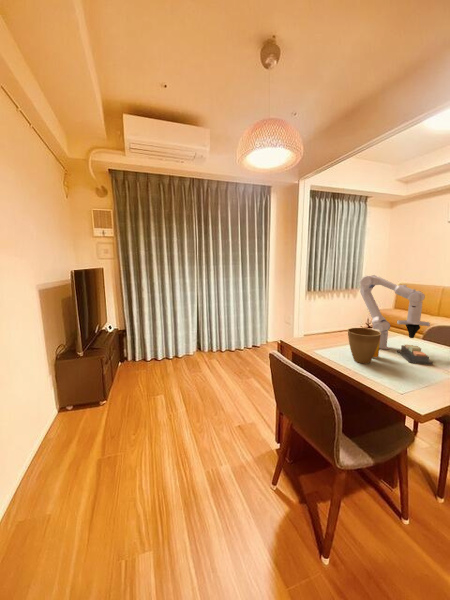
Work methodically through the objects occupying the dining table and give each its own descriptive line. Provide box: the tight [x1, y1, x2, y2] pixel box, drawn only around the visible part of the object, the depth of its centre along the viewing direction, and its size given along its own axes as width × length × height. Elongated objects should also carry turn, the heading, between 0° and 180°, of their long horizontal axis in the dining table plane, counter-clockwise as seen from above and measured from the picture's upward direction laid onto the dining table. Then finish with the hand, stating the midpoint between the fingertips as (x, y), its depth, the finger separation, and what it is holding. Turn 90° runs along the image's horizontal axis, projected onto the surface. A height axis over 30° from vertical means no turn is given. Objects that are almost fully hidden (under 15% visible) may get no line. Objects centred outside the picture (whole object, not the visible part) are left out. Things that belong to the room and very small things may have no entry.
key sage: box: [408, 344, 422, 352], centre depth 130 cm, size 4×4×3 cm
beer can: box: [371, 328, 381, 359], centre depth 132 cm, size 6×6×15 cm
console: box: [396, 344, 434, 366], centre depth 131 cm, size 10×16×4 cm, turn 164°
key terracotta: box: [413, 351, 427, 357], centre depth 125 cm, size 4×4×3 cm
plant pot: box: [347, 327, 381, 365], centre depth 126 cm, size 15×15×16 cm
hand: (411, 337), depth 134 cm, fingers closed
